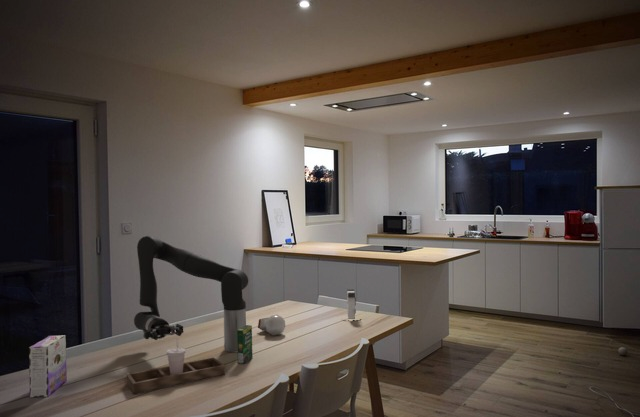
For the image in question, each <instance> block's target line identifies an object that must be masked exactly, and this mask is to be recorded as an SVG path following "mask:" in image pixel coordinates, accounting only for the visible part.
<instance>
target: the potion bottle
mask: <svg viewBox="0 0 640 417" xmlns="http://www.w3.org/2000/svg"><path fill="white" fill-rule="evenodd" d="M257 324H258V325H257V328H258V329H259V330H260V331H262V332H265V333H266V332H267V333H268V334H270V335H272V336H278V335H280V334H282V333H284V331H285V329H286V321H285V319H284V317H282V316H281V315H279V314H273V315H270V316H269V317H263V318H260V319H258V323H257Z"/></svg>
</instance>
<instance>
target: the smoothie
mask: <svg viewBox="0 0 640 417" xmlns="http://www.w3.org/2000/svg"><path fill="white" fill-rule="evenodd" d="M186 352H187V351H186V349H185V348H184V347H183V348H182V347H179V337H176V347H173V348H170V349H168V350H166V356H167V358H168V359H167V360H168V366H169V368H170V375H174V374H179V373H183V364H184V363H185V354H186Z"/></svg>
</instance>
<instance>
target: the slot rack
mask: <svg viewBox="0 0 640 417" xmlns="http://www.w3.org/2000/svg"><path fill="white" fill-rule="evenodd" d="M225 367H226V366H225V364H224V363H222V362H221V361H219V360H218V359H216V358H215V357H209V358H205V359H198V360H193V361H189V362H184V364H183V373H179V374H174V375H170V368H169V365H168V366H163V367H158V368H152V369H145V370H141V371H137V372H136V371H135V372H129V373H126V378H125V379H126V386H127V387H128V389H129V391H130V392H131V393H132V395H134V396H135V395H139V394H143V393H144V394H145V393H148V392H152V391H156V390H162V389H167V388H171V387H176V386H180V385H181V386H182V385H184V384H190V383H194V382H199V381H204V380H208V379H213V378H217V377H222V376H225V375H226V369H225Z"/></svg>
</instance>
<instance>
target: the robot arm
mask: <svg viewBox="0 0 640 417" xmlns="http://www.w3.org/2000/svg"><path fill="white" fill-rule="evenodd" d="M136 248H137V259H138V269H139V284H140V285H139V305H140V306H142V307H148V308H150V311H139V312H138V313H137V312H136V314H135V315H134V319H133V323H134V326H135V328H136V329H138V330H140V331H142V333H143V334H142V336H143V338H144V339H145V340H149V339H151V340H155V341H158V339H159V340H160V339H164V338H165V337H166V336H175V335H176V336H178V337H182V334H184V326H183V325H181V324H180V323H176V324H175V325H171V324H170V323H169V322H168V321H167V320H165V319H164V318H162V317H161V316H160V312H159V307H158V302H157V301H158V300H157V299H158V283H157V279H156V275H155V270H154V259H156V260H160V261H164V262H167V263H169V264H170V265H172V266H174V267H175V268H177V269H178V270H179V271H181V272H182V273H183V272H184V273H185V274H188V275H190V276H193V277H196V278H202V279H209V280H212V281H217V282H220V292H221V303H222V306H223V341H224V342H223V343H224V344H223V346H224V347H223V348H224V351H225V352H228V353H238V344H237V330H239V329H241V328H242V327H244V326H246V325H247V312H246V311H247V309H246V308H247V306H246V300H244V298H243V290H245V289H246V287H247V286H248V285H249V277H248V275H247V274H246V273H245V272H244V271H243V270H241V269H238V268H233V267H230V266H226V265H223V264H220V263H218V262H216V261H214V260H212V259H209V258H207V257H205V256H203V255H201V254H198V253H195V252H192V251H190V250H186V249H182V248H178V247H176V246H173V245H171V244H169V243H168V242H166V241H165V240H162V239H161V238H158V237H155V236H149V235H146V236H143V237H140V238H139V241H138V242H137V246H136Z"/></svg>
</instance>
